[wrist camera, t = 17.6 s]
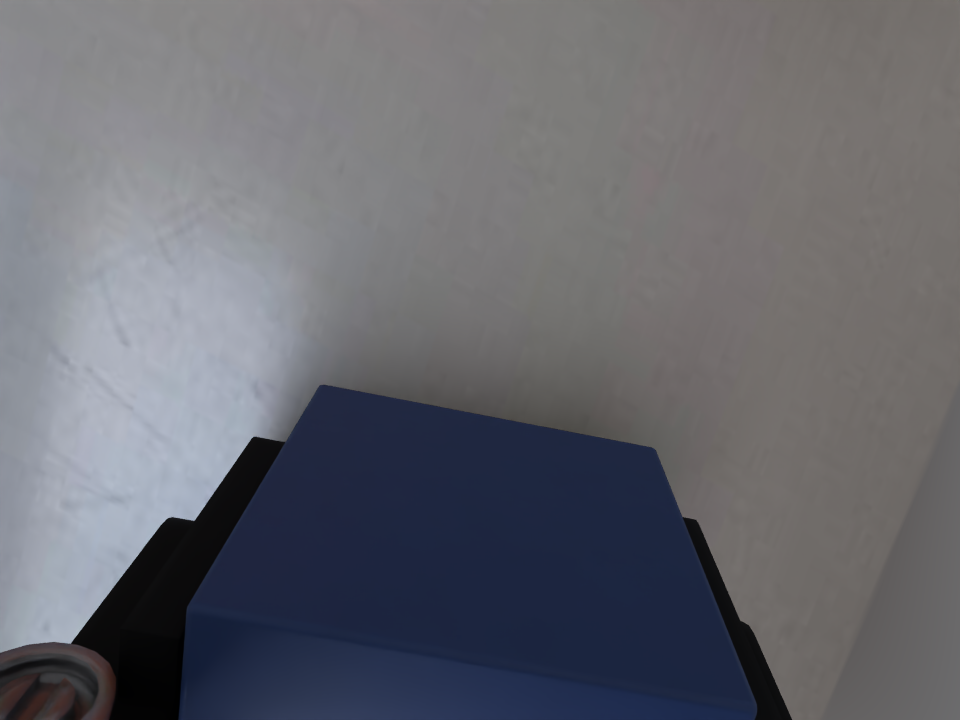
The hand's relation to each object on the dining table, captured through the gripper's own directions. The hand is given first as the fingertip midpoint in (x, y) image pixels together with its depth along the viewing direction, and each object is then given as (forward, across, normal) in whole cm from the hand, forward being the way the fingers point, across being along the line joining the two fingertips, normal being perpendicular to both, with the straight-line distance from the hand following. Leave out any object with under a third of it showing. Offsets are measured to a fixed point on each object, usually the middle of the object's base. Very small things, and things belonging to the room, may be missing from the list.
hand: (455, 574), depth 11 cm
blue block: (0, 0, 0) cm, 0 cm away
